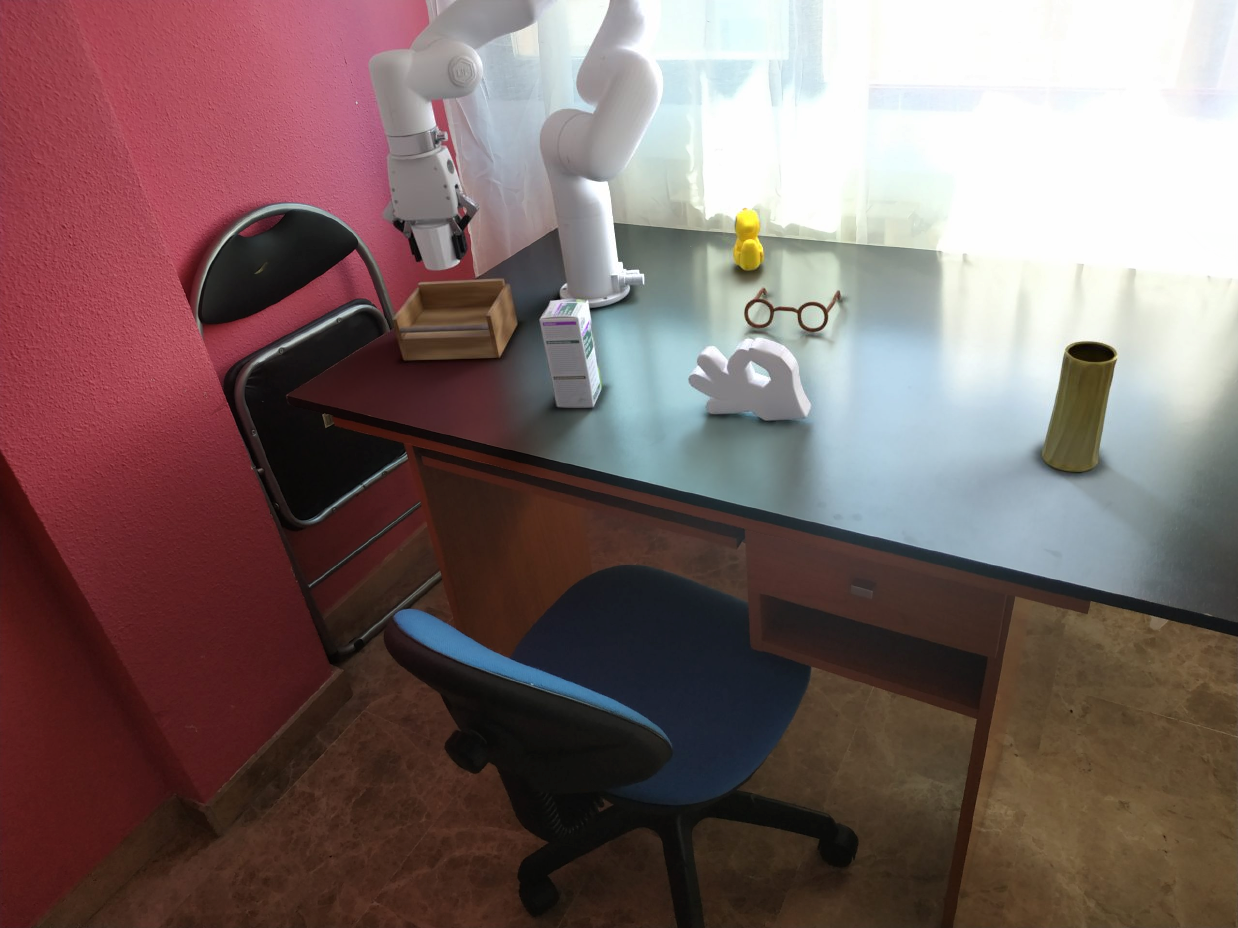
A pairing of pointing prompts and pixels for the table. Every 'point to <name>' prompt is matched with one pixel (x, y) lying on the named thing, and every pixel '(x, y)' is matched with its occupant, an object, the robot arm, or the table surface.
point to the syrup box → (571, 353)
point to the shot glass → (435, 243)
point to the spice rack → (456, 320)
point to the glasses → (799, 311)
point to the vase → (1080, 407)
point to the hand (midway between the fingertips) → (441, 256)
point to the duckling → (747, 240)
